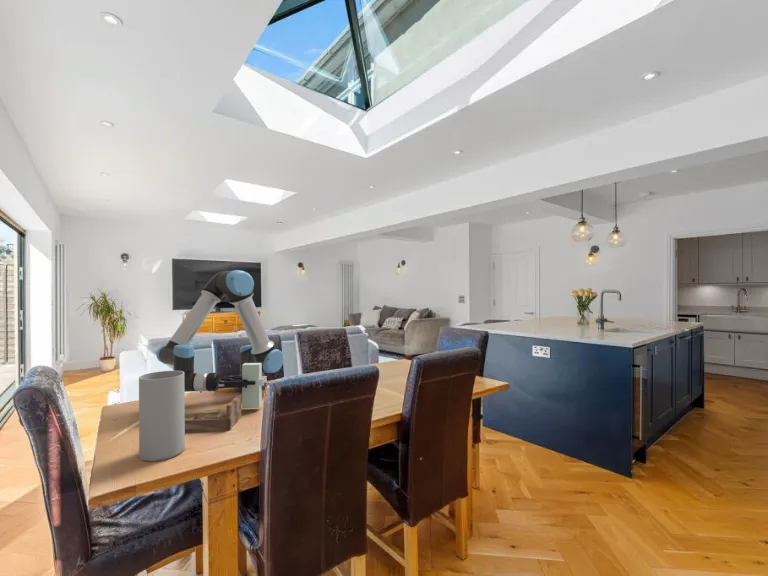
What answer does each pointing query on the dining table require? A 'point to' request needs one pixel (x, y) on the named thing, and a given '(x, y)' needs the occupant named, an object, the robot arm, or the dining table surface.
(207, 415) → the pine offcut
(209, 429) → the tray
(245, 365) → the pale green block
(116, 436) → the dining table surface
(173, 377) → the cylinder vase
